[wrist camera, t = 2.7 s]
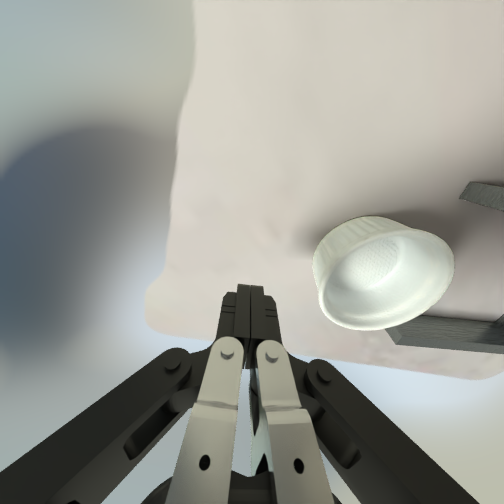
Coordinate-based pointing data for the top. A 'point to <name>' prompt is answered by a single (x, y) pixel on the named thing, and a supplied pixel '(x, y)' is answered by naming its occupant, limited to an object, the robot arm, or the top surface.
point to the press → (448, 329)
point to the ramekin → (380, 273)
